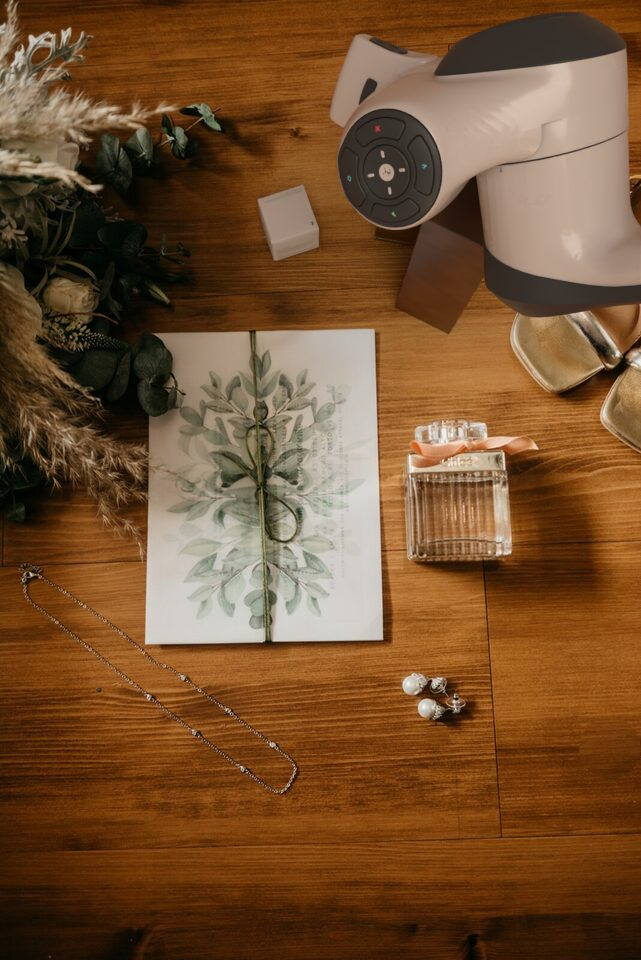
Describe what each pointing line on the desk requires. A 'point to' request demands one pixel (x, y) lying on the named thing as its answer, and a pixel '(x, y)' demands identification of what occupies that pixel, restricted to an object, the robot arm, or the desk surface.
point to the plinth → (446, 262)
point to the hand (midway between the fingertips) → (467, 97)
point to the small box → (289, 222)
